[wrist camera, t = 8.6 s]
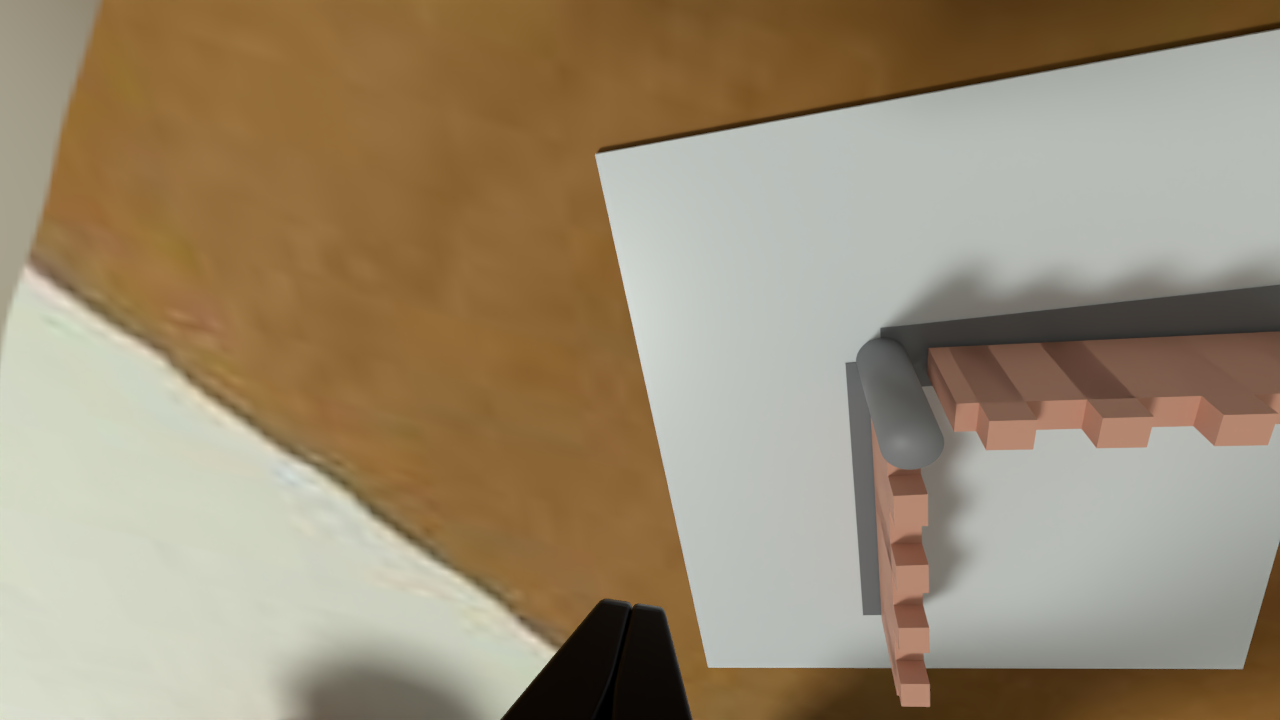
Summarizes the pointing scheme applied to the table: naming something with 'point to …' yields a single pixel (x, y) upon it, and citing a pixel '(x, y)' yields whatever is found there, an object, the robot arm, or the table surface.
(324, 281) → the table surface
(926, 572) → the fence fixed
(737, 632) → the card
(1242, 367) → the fence leaf
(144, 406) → the table surface
